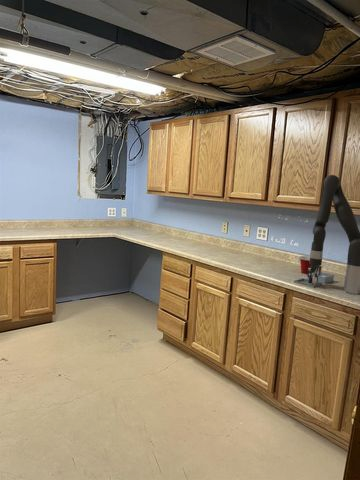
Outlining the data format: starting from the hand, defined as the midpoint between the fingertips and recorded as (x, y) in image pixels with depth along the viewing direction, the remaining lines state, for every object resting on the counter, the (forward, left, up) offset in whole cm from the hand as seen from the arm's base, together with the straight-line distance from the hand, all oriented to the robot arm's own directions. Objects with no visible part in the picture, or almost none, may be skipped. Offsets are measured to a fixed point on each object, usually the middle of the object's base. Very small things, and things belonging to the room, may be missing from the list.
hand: (313, 282), depth 236 cm
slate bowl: (+3, -17, -2) cm, 17 cm away
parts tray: (+3, 0, -2) cm, 4 cm away
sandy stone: (0, -17, 0) cm, 17 cm away
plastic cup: (+20, -28, -2) cm, 35 cm away
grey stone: (0, 0, -2) cm, 2 cm away
